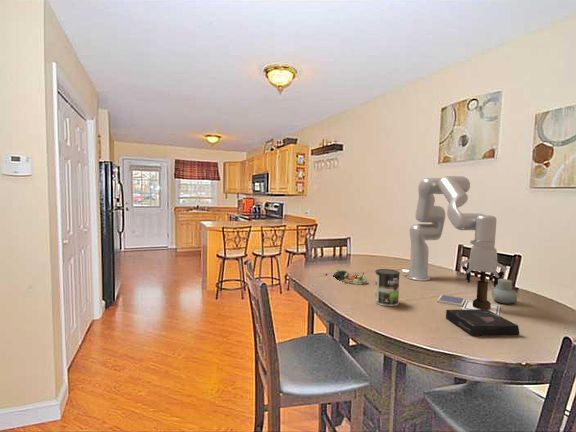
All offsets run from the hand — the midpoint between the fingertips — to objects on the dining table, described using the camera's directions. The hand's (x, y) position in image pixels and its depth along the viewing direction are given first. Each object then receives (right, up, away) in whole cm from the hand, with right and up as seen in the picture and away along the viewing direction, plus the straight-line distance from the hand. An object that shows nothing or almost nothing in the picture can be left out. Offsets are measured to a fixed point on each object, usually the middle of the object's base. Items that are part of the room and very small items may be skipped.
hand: (481, 284), depth 144 cm
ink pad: (-9, -10, +8) cm, 16 cm away
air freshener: (+15, -10, +9) cm, 20 cm away
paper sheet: (0, -10, 0) cm, 10 cm away
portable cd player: (-12, -12, -21) cm, 27 cm away
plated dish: (-48, -8, +46) cm, 67 cm away
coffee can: (-39, -10, +6) cm, 41 cm away
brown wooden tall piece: (0, -10, 0) cm, 10 cm away
